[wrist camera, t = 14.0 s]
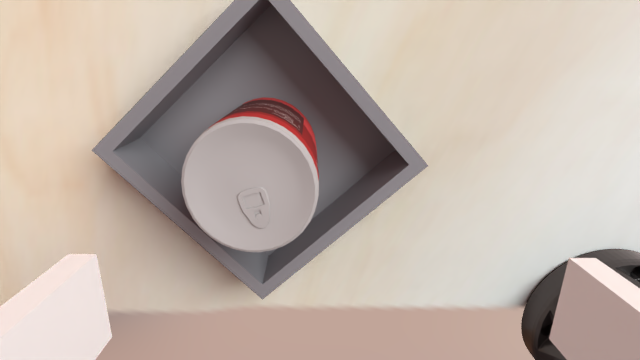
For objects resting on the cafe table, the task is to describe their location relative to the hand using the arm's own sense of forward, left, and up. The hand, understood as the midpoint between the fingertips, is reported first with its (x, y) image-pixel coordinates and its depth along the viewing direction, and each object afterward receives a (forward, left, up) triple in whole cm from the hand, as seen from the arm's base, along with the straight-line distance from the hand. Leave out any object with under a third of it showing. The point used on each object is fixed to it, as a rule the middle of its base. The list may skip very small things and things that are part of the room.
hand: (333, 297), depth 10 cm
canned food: (+2, +3, -22) cm, 22 cm away
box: (+2, +3, -22) cm, 22 cm away
